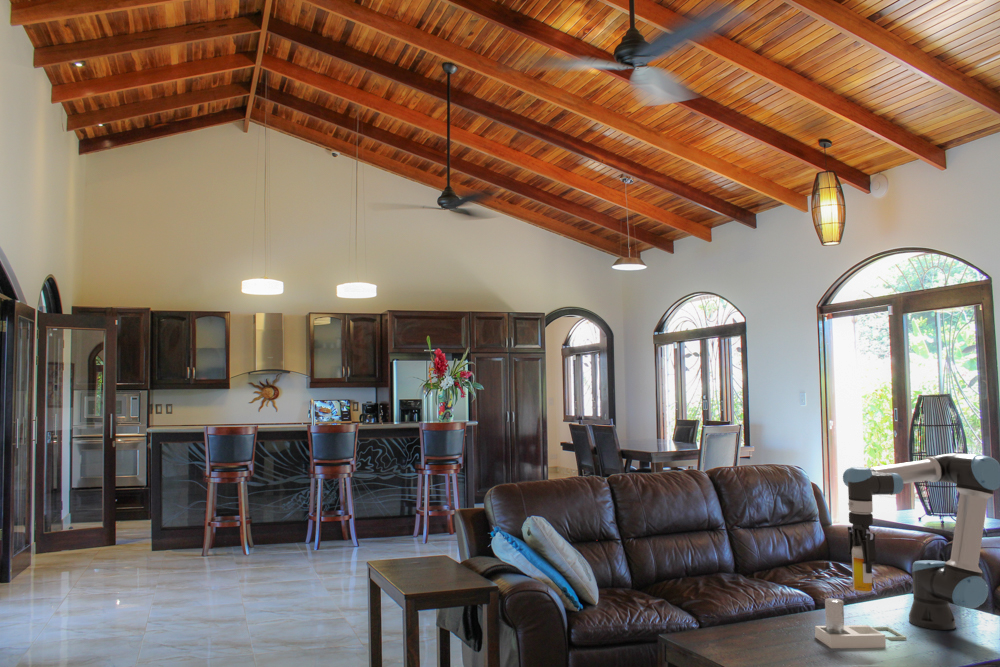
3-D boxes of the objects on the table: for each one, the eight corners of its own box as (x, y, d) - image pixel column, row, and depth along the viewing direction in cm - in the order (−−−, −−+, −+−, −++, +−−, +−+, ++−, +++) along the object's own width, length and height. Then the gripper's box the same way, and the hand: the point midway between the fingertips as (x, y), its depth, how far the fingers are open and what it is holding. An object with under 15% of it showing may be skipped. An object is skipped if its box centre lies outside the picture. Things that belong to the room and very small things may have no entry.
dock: (867, 638, 265) (867, 624, 265) (885, 648, 254) (885, 635, 254) (815, 639, 263) (815, 625, 264) (831, 650, 252) (831, 636, 253)
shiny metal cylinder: (839, 639, 261) (837, 598, 262) (847, 645, 255) (846, 603, 256) (822, 639, 261) (821, 598, 262) (831, 645, 255) (830, 603, 256)
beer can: (874, 594, 256) (873, 549, 258) (855, 593, 258) (854, 548, 259) (869, 589, 262) (868, 545, 264) (850, 588, 264) (849, 545, 265)
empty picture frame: (887, 629, 274) (887, 626, 274) (906, 639, 263) (906, 636, 263) (858, 630, 273) (858, 627, 273) (875, 640, 262) (875, 637, 262)
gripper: (836, 508, 271) (837, 573, 270) (865, 517, 252) (867, 587, 251) (856, 508, 272) (857, 573, 270) (886, 517, 253) (888, 587, 251)
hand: (862, 579), depth 260 cm, fingers closed on beer can, 6 cm apart
